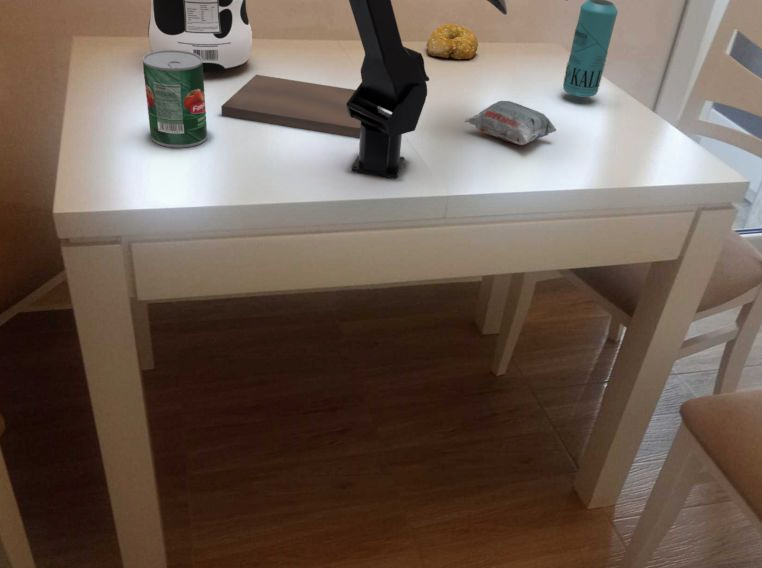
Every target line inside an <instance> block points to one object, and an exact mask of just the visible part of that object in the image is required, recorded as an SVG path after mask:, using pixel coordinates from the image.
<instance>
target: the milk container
mask: <svg viewBox="0 0 762 568" xmlns="http://www.w3.org/2000/svg"><path fill="white" fill-rule="evenodd" d="M246 1H247V0H150V14H149V20H148V28H147V30H148V31H147V34H148V41H149V45H150V49H151V52H154V51H161V50H180V51H187V52H192V53H195V54H197V55H199V56H200V57H202V59H203V74H218V73H225V72H230V71H234V70H236V69H239V68H241V67H243V66H244V65H246V63H248V62H249V59H250V57H251V54H252V49H253V32H252V28H251V24H250V20H249V17H248V12H247V3H246Z"/></svg>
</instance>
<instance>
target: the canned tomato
mask: <svg viewBox="0 0 762 568" xmlns="http://www.w3.org/2000/svg"><path fill="white" fill-rule="evenodd" d="M141 62H142V68H143V78H144V86H145V87H144V88H145V96H146V97H145V98H146V104H147V105H146V106H147V114H148V123H149V131H150V135H149V136H150V139H151V141H152V142H154V143H155V144H157V145H159V146H163V147H167V148H175V149H178V148H180V149H181V148H191V147H195V146H198V145H201V144H202V143H204V142H206V140H207V139H208V129H207V127H208V125H207V112H206V111H207V110H206V96H205V81H204V80H205V79H204V78H205V77H204V73H203V59H202V57H200V56H199V55H197V54H195V53H192V52H187V51H180V50H161V51H154V52H152V51H151V52H147V53H146V54H143V56H142V57H141Z"/></svg>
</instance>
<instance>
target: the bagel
mask: <svg viewBox="0 0 762 568" xmlns="http://www.w3.org/2000/svg"><path fill="white" fill-rule="evenodd" d="M426 47H427V52H428V54H429V55H430V56H432V57H437V58H441V59H442V58H443V59H448V58H451V59H455V60H468V59H471V58H473V57H474V56H475V54H476V53H477V51H478V48H479V42H478V38H477V35H476V34H475V33H474V32H473V31H472V30H470V29H468V28H467V27H465V26H462V25H460V24H457V23H448V24H447V23H446V24H441V25H439V26H438V27H436V29H435V30H433V31H432V32H431V34H430V36H429V37H428V39H427V42H426Z"/></svg>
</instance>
